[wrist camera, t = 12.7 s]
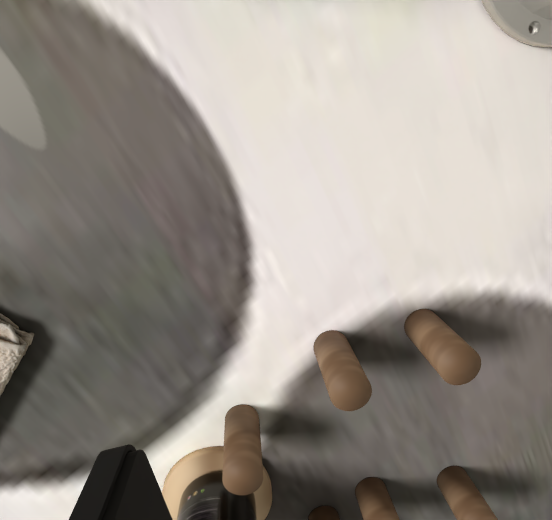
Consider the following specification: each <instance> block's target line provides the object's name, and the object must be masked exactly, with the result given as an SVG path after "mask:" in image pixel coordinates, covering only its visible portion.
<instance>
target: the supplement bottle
mask: <svg viewBox="0 0 552 520" xmlns="http://www.w3.org/2000/svg"><path fill="white" fill-rule="evenodd" d="M222 476H223V472H211V473H207V474H204V475H202V476H200V477H198V478H196V479H195V480H193V481H192V482H191V483H190V484H189V485H188V486H187V487H186V489H185V490H184V492H183V494H182V496H181V500H180V504H179V509H178V515H177V520H257V517H256V502H255V496H254V493H251V494H248V495H236V494H233V493H231V492H229V491H228V490H227V489H226V488H225V487H224V485H223V481H222Z"/></svg>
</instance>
